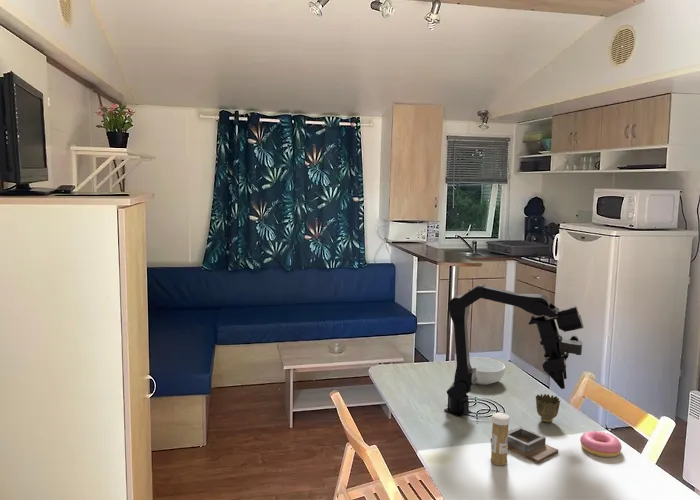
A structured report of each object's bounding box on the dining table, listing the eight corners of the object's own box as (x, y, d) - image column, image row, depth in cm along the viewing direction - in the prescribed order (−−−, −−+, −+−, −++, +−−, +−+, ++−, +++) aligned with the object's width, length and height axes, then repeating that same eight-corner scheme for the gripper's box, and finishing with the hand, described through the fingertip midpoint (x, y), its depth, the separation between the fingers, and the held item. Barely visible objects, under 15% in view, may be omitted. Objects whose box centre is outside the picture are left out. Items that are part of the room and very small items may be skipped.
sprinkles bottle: (507, 467, 146) (509, 419, 144) (489, 464, 147) (491, 417, 145) (507, 459, 150) (509, 413, 148) (490, 456, 151) (492, 410, 150)
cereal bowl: (452, 382, 208) (453, 365, 207) (469, 370, 222) (470, 354, 221) (495, 392, 198) (496, 374, 198) (510, 379, 212) (511, 362, 211)
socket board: (490, 441, 160) (491, 430, 160) (511, 432, 166) (511, 421, 166) (537, 463, 148) (538, 451, 147) (558, 453, 154) (559, 441, 153)
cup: (560, 427, 170) (562, 403, 169) (536, 425, 172) (537, 401, 171) (556, 417, 177) (558, 394, 176) (533, 415, 179) (534, 392, 178)
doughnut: (629, 458, 152) (630, 444, 151) (594, 461, 150) (595, 446, 150) (605, 440, 162) (606, 427, 162) (572, 442, 161) (573, 429, 160)
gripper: (574, 337, 154) (591, 389, 153) (577, 322, 171) (592, 370, 170) (535, 344, 159) (551, 395, 158) (541, 329, 176) (556, 375, 175)
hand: (564, 383), depth 165 cm, fingers open, 9 cm apart
